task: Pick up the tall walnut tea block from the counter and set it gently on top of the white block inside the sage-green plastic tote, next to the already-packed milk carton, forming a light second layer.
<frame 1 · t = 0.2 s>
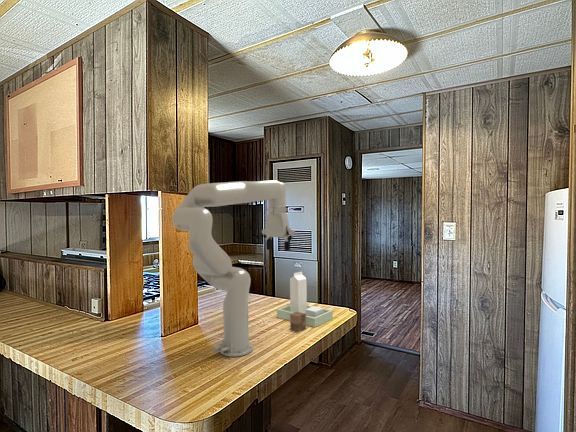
hand: (278, 249, 146), 36 cm above the worktop, tool pointing down, fingers open, 9 cm apart
milk: (298, 316, 168), resting in tote
white block: (314, 321, 159), resting in tote
tote: (304, 318, 164), on the worktop
walnut block: (298, 329, 149), on the worktop
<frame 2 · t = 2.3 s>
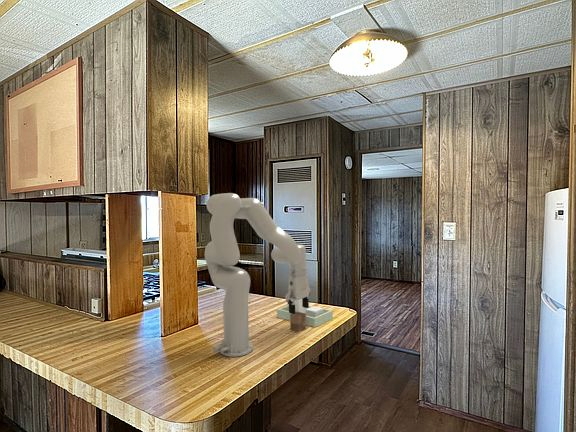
hand: (299, 310, 149), 8 cm above the worktop, tool pointing down, fingers open, 9 cm apart
nothing on the worktop moved.
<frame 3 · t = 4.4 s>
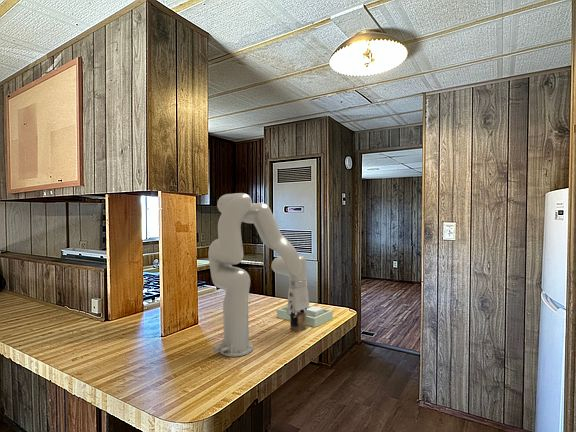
hand: (298, 323, 149), 2 cm above the worktop, tool pointing down, fingers closed on walnut block, 5 cm apart
walnut block: (298, 329, 149), on the worktop, touching gripper
everything else where it was.
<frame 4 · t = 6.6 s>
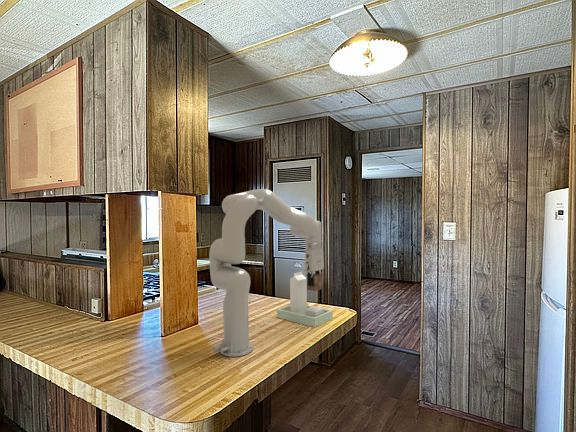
hand: (314, 284, 159), 18 cm above the worktop, tool pointing down, fingers closed on walnut block, 4 cm apart
walnut block: (314, 289, 159), point 15 cm above the worktop, touching gripper
everything else where it was.
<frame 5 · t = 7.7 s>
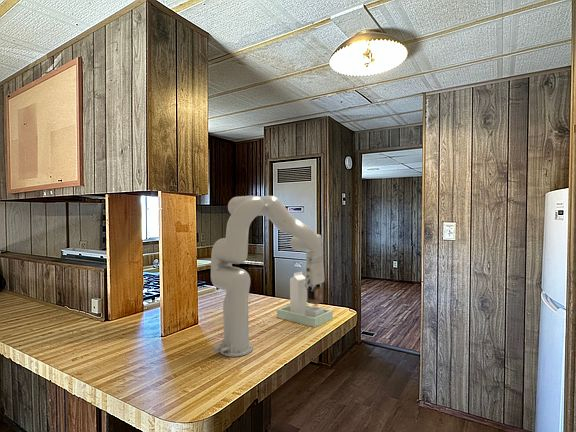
hand: (314, 297, 159), 11 cm above the worktop, tool pointing down, fingers closed on walnut block, 4 cm apart
walnut block: (314, 302, 159), point 9 cm above the worktop, touching gripper
everything else where it was.
when the fingers open (10 cm above the worktop, at t = 8.8 s): walnut block drops 1 cm, resting on white block.
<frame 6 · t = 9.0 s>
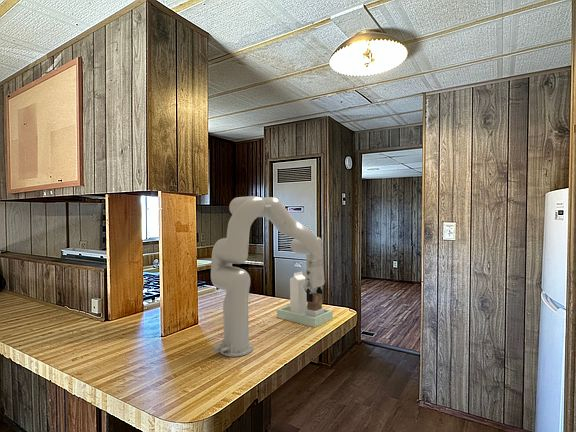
hand: (314, 299, 159), 10 cm above the worktop, tool pointing down, fingers open, 7 cm apart
white block: (314, 321, 160), resting in tote, touching walnut block
walnut block: (314, 308, 159), point 6 cm above the worktop, touching white block
everything else where it was.
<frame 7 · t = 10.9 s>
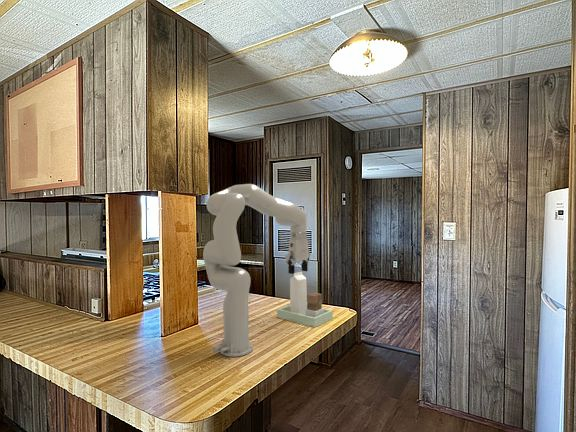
hand: (298, 272, 158), 24 cm above the worktop, tool pointing down, fingers open, 9 cm apart
white block: (314, 321, 160), resting in tote
walnut block: (314, 308, 159), point 6 cm above the worktop
everything else where it was.
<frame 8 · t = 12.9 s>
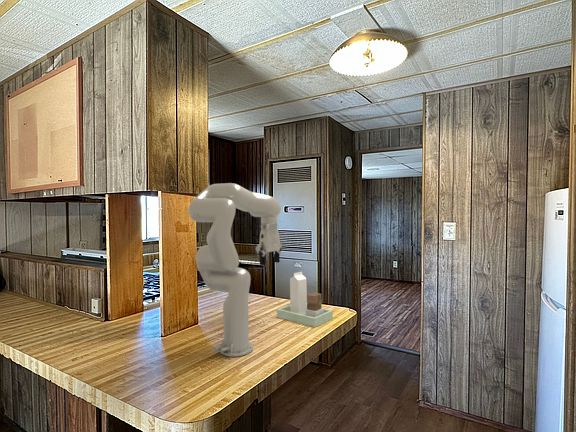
hand: (269, 263, 156), 28 cm above the worktop, tool pointing down, fingers open, 9 cm apart
white block: (314, 321, 160), resting in tote, touching walnut block
walnut block: (314, 308, 159), point 6 cm above the worktop, touching white block
everything else where it was.
at the end: walnut block 0.3 cm off-centre on the white block, point 6.0 cm above the white block's base; white block tilted 0°; white block inside the target area on the tote (6.5 cm from its centre), point 0.0 cm above the tote's base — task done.
